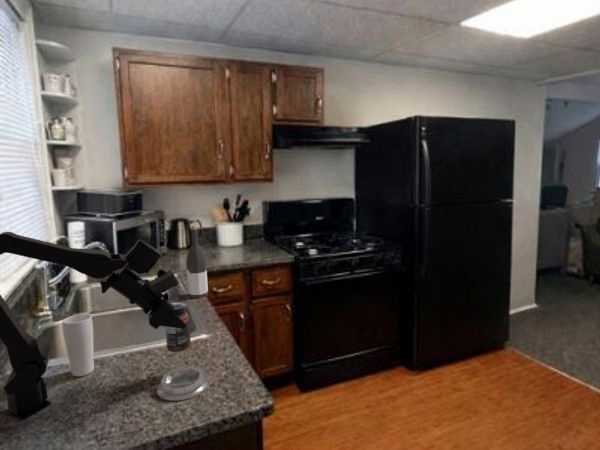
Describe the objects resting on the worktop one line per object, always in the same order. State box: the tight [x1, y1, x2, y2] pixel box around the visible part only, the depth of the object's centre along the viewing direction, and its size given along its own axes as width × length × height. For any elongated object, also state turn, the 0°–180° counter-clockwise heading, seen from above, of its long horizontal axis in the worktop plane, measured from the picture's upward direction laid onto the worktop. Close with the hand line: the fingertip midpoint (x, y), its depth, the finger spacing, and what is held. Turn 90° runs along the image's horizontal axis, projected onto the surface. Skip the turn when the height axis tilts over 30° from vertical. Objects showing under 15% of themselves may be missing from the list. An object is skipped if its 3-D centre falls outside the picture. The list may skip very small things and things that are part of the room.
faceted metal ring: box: [156, 366, 209, 402], centre depth 95 cm, size 12×12×2 cm
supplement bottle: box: [164, 303, 191, 353], centre depth 100 cm, size 6×6×11 cm
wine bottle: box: [185, 225, 209, 299], centre depth 163 cm, size 8×8×30 cm
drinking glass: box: [62, 313, 95, 377], centre depth 102 cm, size 7×7×15 cm
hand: (182, 322), depth 101 cm, fingers closed on supplement bottle, 6 cm apart
